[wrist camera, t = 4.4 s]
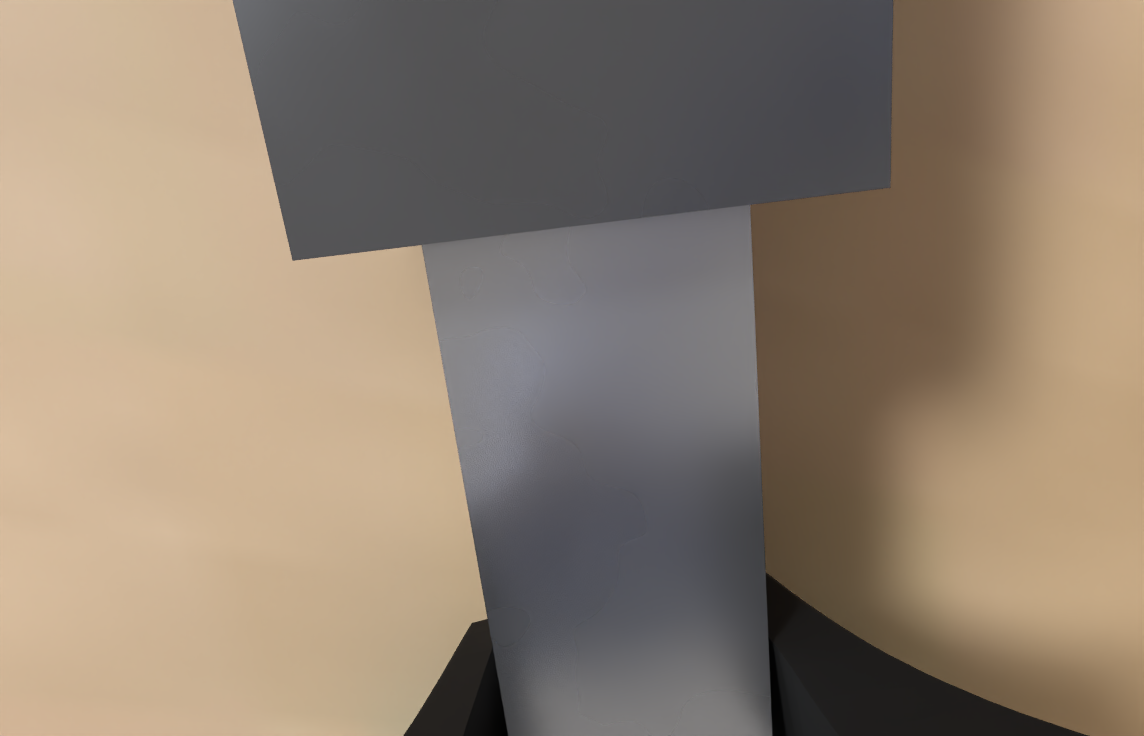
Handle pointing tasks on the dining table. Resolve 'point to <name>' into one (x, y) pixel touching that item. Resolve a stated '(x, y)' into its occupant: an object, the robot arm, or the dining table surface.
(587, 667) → the grey square bar
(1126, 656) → the dining table surface
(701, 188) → the dark grey rectangular bar
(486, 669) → the robot arm
